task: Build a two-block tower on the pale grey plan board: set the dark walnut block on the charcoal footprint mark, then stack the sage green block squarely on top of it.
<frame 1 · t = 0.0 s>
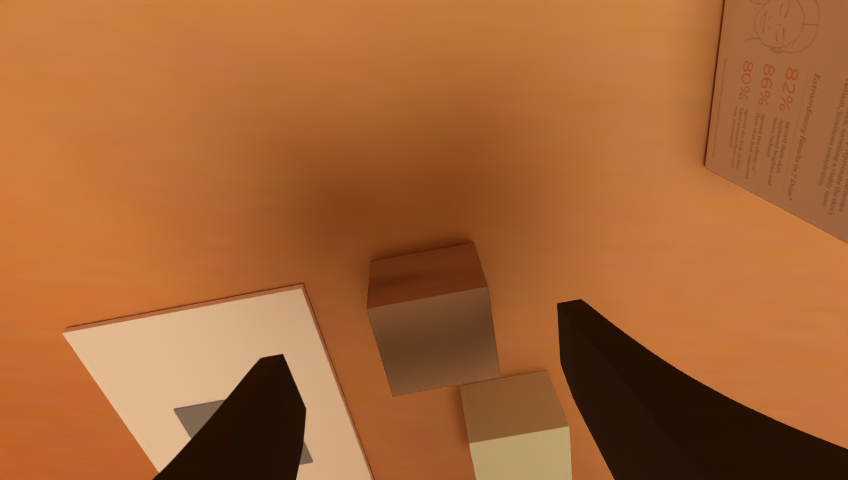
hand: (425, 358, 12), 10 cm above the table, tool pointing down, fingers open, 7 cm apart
small box: (774, 65, 19), on the table
sage block: (506, 407, 28), on the table
walnut block: (430, 292, 24), on the table
plan board: (248, 430, 27), on the table
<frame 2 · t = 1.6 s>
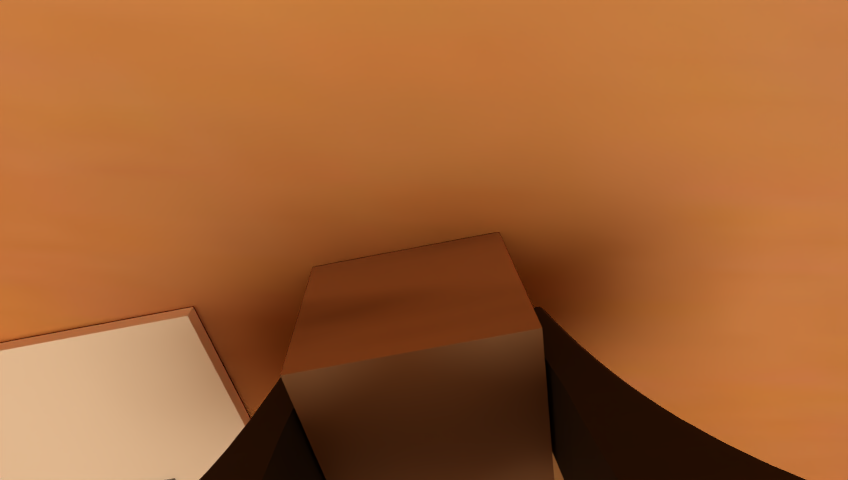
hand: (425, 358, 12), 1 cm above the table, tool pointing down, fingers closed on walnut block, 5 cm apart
walnut block: (422, 324, 13), on the table, touching gripper
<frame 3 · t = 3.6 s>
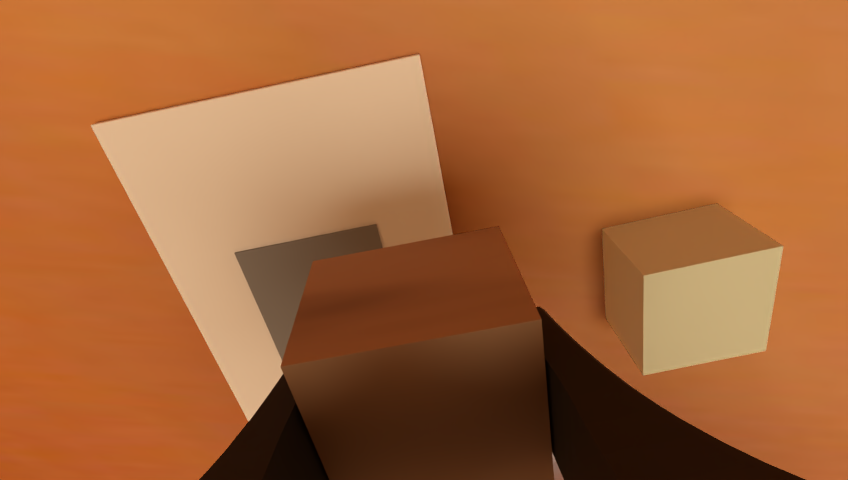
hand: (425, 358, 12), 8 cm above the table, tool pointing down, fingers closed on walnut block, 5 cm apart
sage block: (656, 262, 21), on the table
walnut block: (422, 318, 13), point 7 cm above the table, touching gripper
plan board: (327, 291, 21), on the table
when the fingers open (3 cm above the table, at t = 5.6 s): walnut block stays where it is, resting on plan board.
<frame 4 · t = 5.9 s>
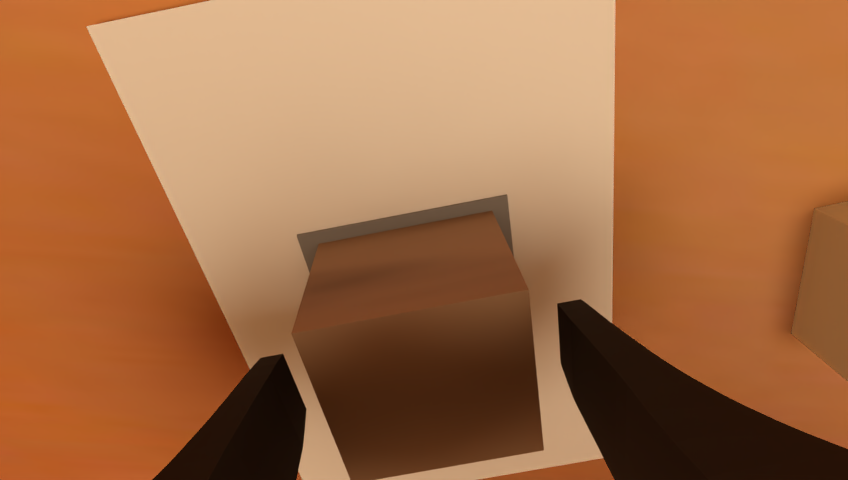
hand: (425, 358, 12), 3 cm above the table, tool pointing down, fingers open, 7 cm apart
walnut block: (421, 298, 14), resting on plan board
plan board: (419, 293, 15), on the table
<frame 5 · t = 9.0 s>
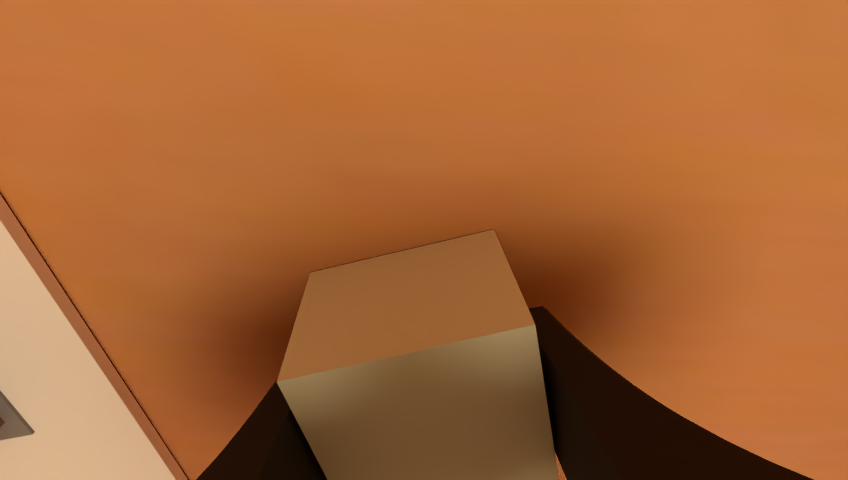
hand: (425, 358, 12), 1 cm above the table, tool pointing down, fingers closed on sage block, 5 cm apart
sage block: (422, 324, 13), on the table, touching gripper
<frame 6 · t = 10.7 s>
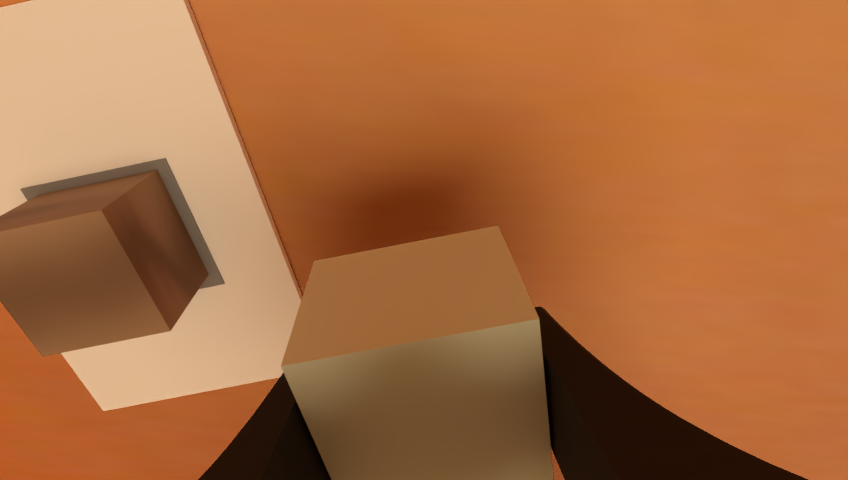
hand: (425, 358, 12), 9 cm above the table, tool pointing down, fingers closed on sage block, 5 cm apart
sage block: (422, 317, 14), point 8 cm above the table, touching gripper
walnut block: (127, 236, 20), resting on plan board
plan board: (134, 234, 20), on the table
when the fingers open (7 cm above the table, at t = 12.5 s): sage block stays where it is, resting on walnut block.
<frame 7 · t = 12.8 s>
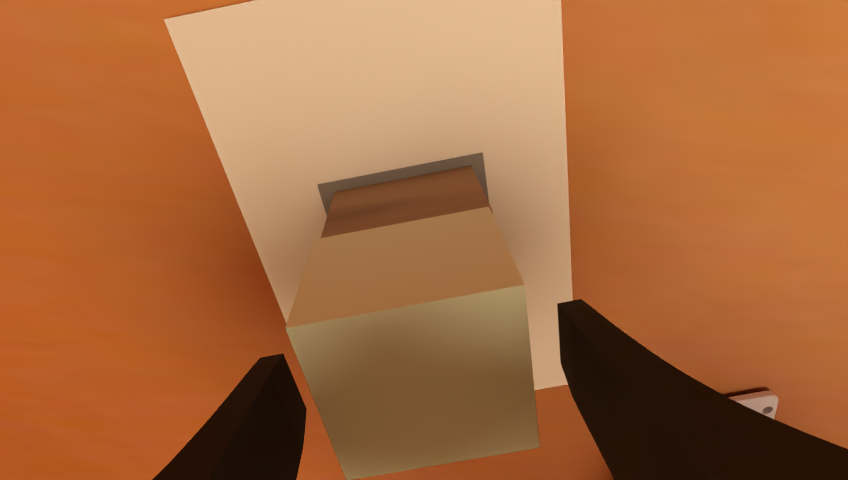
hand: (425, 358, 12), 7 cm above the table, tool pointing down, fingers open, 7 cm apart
sage block: (417, 295, 14), point 4 cm above the table, touching walnut block
walnut block: (415, 239, 18), resting on plan board, touching sage block
plan board: (414, 236, 18), on the table
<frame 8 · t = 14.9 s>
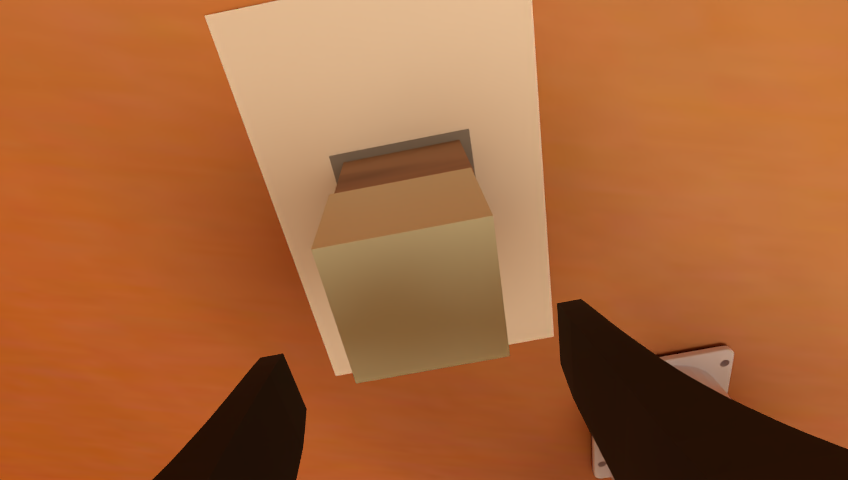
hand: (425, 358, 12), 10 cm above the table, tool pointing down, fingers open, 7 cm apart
sage block: (413, 243, 17), point 4 cm above the table, touching walnut block
walnut block: (412, 204, 21), resting on plan board, touching sage block
plan board: (411, 203, 21), on the table
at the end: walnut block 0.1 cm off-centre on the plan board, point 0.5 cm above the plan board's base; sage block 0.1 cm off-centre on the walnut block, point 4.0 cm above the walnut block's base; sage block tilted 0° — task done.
